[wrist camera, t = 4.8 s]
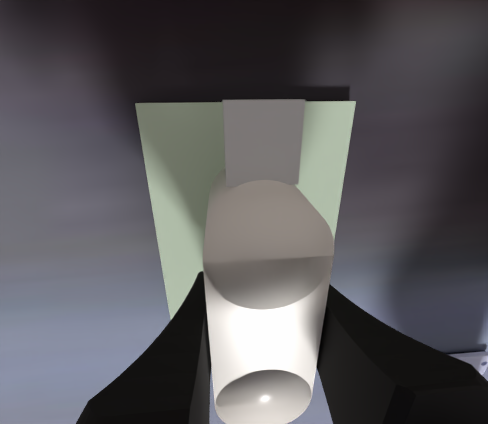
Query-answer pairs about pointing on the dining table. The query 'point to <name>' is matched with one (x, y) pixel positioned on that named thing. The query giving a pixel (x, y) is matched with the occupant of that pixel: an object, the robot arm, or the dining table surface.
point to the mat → (212, 162)
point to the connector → (264, 267)
